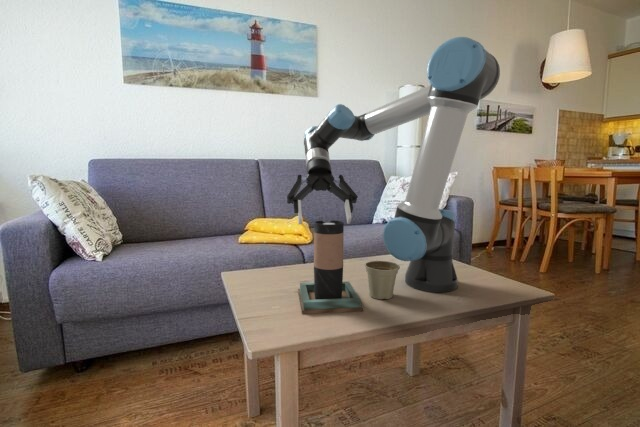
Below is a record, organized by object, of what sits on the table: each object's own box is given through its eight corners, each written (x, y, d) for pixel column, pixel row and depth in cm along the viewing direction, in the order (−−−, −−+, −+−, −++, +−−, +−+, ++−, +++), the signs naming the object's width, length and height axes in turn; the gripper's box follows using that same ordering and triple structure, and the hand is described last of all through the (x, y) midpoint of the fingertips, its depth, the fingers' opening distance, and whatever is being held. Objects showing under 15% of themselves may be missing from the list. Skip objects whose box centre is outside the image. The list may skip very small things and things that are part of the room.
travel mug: (331, 305, 84) (332, 225, 81) (307, 298, 88) (307, 222, 86) (348, 296, 90) (349, 222, 87) (325, 290, 94) (325, 219, 92)
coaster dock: (350, 289, 97) (350, 280, 97) (363, 311, 82) (363, 300, 82) (297, 291, 95) (297, 282, 95) (301, 313, 81) (301, 303, 80)
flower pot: (398, 291, 96) (399, 261, 95) (398, 303, 87) (400, 271, 86) (365, 288, 98) (366, 259, 97) (362, 300, 89) (363, 268, 88)
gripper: (355, 174, 110) (366, 228, 97) (278, 174, 106) (279, 229, 94) (359, 157, 104) (372, 212, 91) (278, 156, 101) (279, 213, 88)
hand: (325, 221), depth 92 cm, fingers open, 13 cm apart
